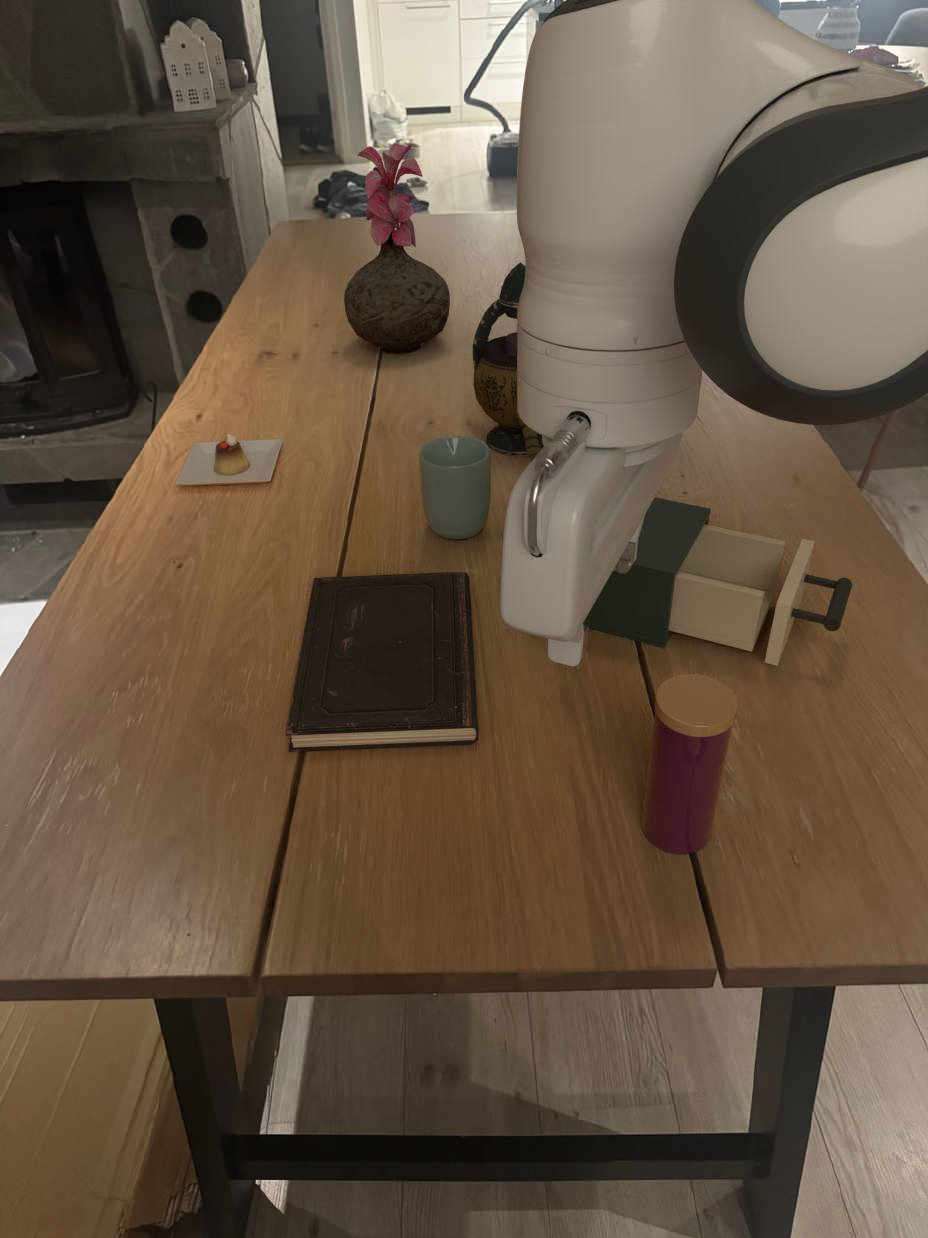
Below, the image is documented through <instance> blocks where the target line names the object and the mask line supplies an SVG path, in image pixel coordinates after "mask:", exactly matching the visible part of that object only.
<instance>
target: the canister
mask: <svg viewBox="0 0 928 1238" xmlns="http://www.w3.org/2000/svg"><path fill="white" fill-rule="evenodd" d="M738 705H739V704H738V700H737V695H735V693H734V691H732V689H731V688H730V687H729V686H728V685H726V684H725V683H724V682H722V681H720V680H718V679H717V678H715V677H711V676H709V675H704V674H699V673H681V674H676V675H673V676H671V677H668V678H667V679H665V680H664V681H662V682H661V683H660V685H659V686H658V687H657V689H656V691H655V698H654V712H655V713H654V719H653V728H652V735H651V742H650V743H651V744H650V751H649V752H650V753H649V760H648V766H647V776H646V783H645V792H644V793H645V794H644V799H643V807H642V808H643V809H642V817H641V830H642V831H643V835H644V836H645V838H646V840H647V841H648V842H650V843H651V844H652V845H653V847H656V848H658V849H659V850H661V851H663V852H666V853H668V854H672V855H682V856H683V855H690V854H695V853H697V852H699V851H701V850H702V849H704V848H705V847H706V846H707V845H708V843H709V842H710V840H711V838H712V833H713V829H714V823H715V819H716V812H717V808H718V802H719V798H720V792H721V787H722V781H723V777H724V771H725V766H726V760H727V755H728V752H729V751H728V750H729V747H730V740H731V735H732V731H733V724H734V723H735V721H736V717H737V712H738Z"/></svg>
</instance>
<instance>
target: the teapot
mask: <svg viewBox="0 0 928 1238" xmlns="http://www.w3.org/2000/svg"><path fill="white" fill-rule="evenodd" d="M525 273H526V265H524V263H522V262H521V261H520V262H519V263H517V264H516V265H515V266H514V267H513V268H512V269H510V271H509V272H508V274H507V275H506V276H505V278H504V280H503V284H502V286H501V289H500V293H499V298H497V299H495V301H493V302H492V303H491V304H490V306H489V307H488V308H487V309H486V310H485V311H484V313H483V315H482V317H481V319H480V321H479V323H478V325H477V328H476V331H475V333H474V338H473V343H472V363H473V390H474V395H475V399H476V401H477V402H478V405H479V406H480V408H481V409H482V411H483V413H484V414H485V415H486V416H487V417H489V419H490V420H492V421H493V422H494V423H496V426H495V427H493V428H492V429H491V430H489V432H487V434H486V436H485V443H486V444H487V446H488V447H489V450H491V451H493V452H494V453H498V454H500V455H504V456H511V457H528V460H529V461H530V463H531V462H532V460H533V459H534V458H535V457H536V456H537V454H538V453H539V452H540V451H541V450H542V448H543V447H544V445H543V442H542V435H540V434H538V433H537V432H535V431H533V430H532V429H530V428H529V427H528V426H527V425H525V423H524V422H523V421H522V420H521V418H520V417H519V414H518V409H517V331H515V332H511V333H508V334H506V335H502V336H499V337H494V338H492V339H490V338H489V336H490V333H491V332H492V329H493V328H492V327H493V326H494V325H495V323H496V322H497V321H498V319H499V318H500V317H502V316H503V315H506V317H508V318H510V319H515V320H517V310H518V304H519V300H520V296H521V293H522V290H523V286H524V281H525ZM489 339H490V340H489Z"/></svg>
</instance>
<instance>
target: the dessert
mask: <svg viewBox="0 0 928 1238" xmlns="http://www.w3.org/2000/svg"><path fill="white" fill-rule="evenodd" d="M283 441H284V439H283V438H265V439H263V438H262V439H240V440H239V439H237V437H236V436H235V435H232V434H229V433H227V434H226V437H224V439H223V440H216V441H215V440H212V441H211V440H210V441H194V442H193V443H192V446H191V448H190V450H189V452H188V454H187V456H186V458H185V460H184V463H183V464H182V466H181V469H180V470H179V473H178V475H177V477H176V479H175V481H174V484H173V485H175V486H183V487H184V486H185V487H203V486H205V487H206V486H226V485H227V486H228V485H229V486H230V485H254V484H264V483H267V482H270V481H272V478H273V474H274V472H275V468H276V464H277V461H278V458H279V454H280V450H281V447H282V445H283Z"/></svg>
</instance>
